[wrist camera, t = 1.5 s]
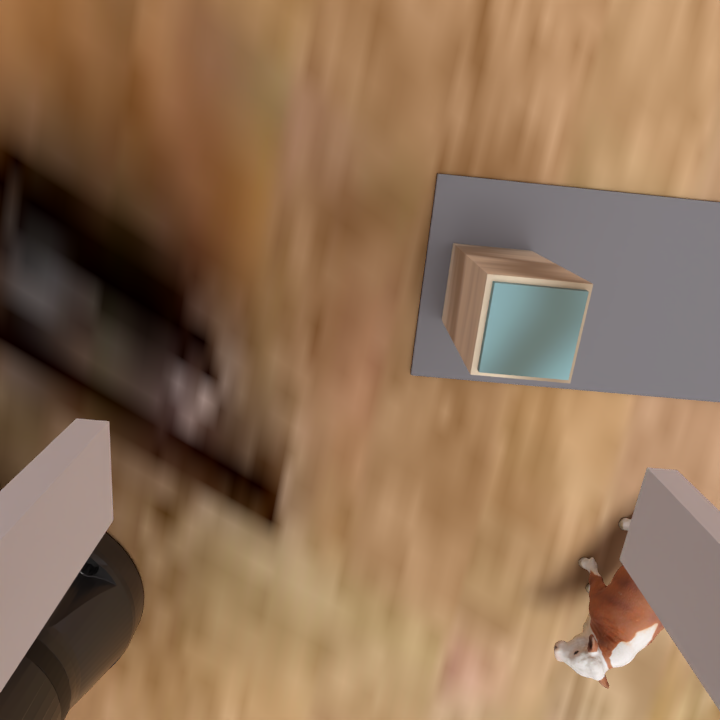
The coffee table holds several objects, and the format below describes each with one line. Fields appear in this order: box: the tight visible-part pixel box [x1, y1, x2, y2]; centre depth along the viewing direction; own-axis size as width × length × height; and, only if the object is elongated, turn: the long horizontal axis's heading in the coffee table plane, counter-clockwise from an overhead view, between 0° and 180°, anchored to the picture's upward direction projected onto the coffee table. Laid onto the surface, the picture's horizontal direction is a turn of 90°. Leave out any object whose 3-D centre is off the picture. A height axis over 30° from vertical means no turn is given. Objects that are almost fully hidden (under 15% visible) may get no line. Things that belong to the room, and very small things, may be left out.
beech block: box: [442, 243, 593, 383], centre depth 32 cm, size 5×5×10 cm
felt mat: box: [411, 174, 720, 402], centre depth 38 cm, size 22×13×1 cm, turn 84°
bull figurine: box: [554, 518, 664, 688], centre depth 41 cm, size 4×13×8 cm, turn 136°
